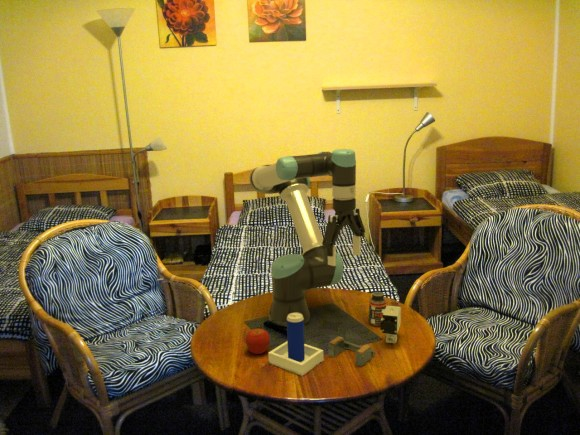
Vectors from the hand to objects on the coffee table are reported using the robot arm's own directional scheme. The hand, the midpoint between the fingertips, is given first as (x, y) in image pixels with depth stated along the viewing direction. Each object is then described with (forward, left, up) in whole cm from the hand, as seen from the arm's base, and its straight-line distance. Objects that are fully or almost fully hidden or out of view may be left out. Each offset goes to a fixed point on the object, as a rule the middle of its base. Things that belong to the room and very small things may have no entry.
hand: (344, 259), depth 183 cm
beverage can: (-1, -26, -26) cm, 37 cm away
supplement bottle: (+6, +12, -26) cm, 30 cm away
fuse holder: (+11, -14, -26) cm, 32 cm away
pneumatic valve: (+16, +3, -26) cm, 31 cm away
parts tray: (-1, -26, -26) cm, 37 cm away
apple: (-15, -28, -26) cm, 41 cm away
